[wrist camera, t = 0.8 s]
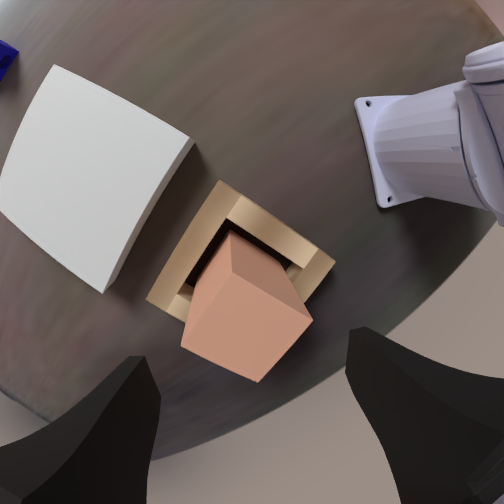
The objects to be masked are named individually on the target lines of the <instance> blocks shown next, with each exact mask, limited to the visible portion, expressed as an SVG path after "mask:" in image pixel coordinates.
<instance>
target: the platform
mask: <svg viewBox="0 0 504 504" xmlns="http://www.w3.org/2000/svg"><path fill="white" fill-rule="evenodd" d="M194 143H195V142H194V141H193V140H192V139H191V138H190V137H188V136H187V135H185V134H183V133H182V132H180V131H178V130H177V129H175V128H173V127H172V126H170V125H168V124H167V123H165V122H163V121H162V120H160V119H158V118H157V117H155V116H153V115H151V114H150V113H148V112H146V111H144V110H143V109H141V108H139V107H137V106H135V105H134V104H132V103H130V102H128V101H126V100H124V99H123V98H121V97H119V96H117V95H115V94H113V93H111V92H109V91H108V90H106V89H104V88H102V87H100V86H98V85H96V84H94V83H92V82H90V81H88V80H86V79H84V78H82V77H80V76H78V75H76V74H74V73H72V72H69V71H67V70H65V69H63V68H61V67H59V66H56V65H53V67H52V68H51V70H50V71H49V73H48V75H47V76H46V78H45V80H44V81H43V83H42V85H41V86H40V88H39V90H38V91H37V93H36V95H35V97H34V99H33V101H32V103H31V104H30V106H29V108H28V110H27V112H26V114H25V116H24V118H23V121H22V123H21V125H20V127H19V129H18V132H17V134H16V136H15V139H14V141H13V143H12V146H11V148H10V151H9V154H8V156H7V159H6V162H5V165H4V167H3V170H2V173H1V177H0V211H1V212H2V213H3V214H4V215H5V216H6V217H7V218H8V219H9V220H10V221H11V222H13V223H14V224H15V225H16V226H17V227H18V228H19V229H20V230H21V231H22V232H24V233H25V234H26V235H27V236H28V237H29V238H30V239H32V240H33V241H34V242H35V243H36V244H37V245H39V246H40V247H41V248H42V249H43V250H45V251H46V252H47V253H48V254H49V255H51V256H52V257H53V258H54V259H56V260H57V261H58V262H60V263H61V264H62V265H63V266H65V267H66V268H67V269H69V270H70V271H71V272H73V273H74V274H75V275H77V276H78V277H79V278H81V279H82V280H84V281H85V282H86V283H88V284H89V285H91V286H92V287H93V288H95V289H96V290H98V291H99V292H101V293H102V294H103V293H104V292H105V290H106V289H107V288H108V287H109V286H110V285H111V284H112V283H113V282H114V281H115V280H116V278H117V276H118V274H119V272H120V270H121V268H122V266H123V263H124V261H125V259H126V257H127V255H128V254H129V252H130V250H131V248H132V246H133V244H134V242H135V240H136V238H137V236H138V234H139V233H140V231H141V229H142V227H143V225H144V224H145V222H146V220H147V218H148V216H149V215H150V213H151V211H152V209H153V208H154V206H155V204H156V203H157V201H158V199H159V197H160V196H161V194H162V193H163V191H164V189H165V188H166V186H167V184H168V183H169V181H170V180H171V178H172V176H173V175H174V173H175V172H176V170H177V169H178V167H179V165H180V164H181V162H182V161H183V159H184V158H185V156H186V155H187V153H188V152H189V150H190V149H191V147H192V146H193V145H194Z"/></svg>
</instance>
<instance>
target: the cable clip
mask: <svg viewBox="0 0 504 504" xmlns="http://www.w3.org/2000/svg"><path fill="white" fill-rule="evenodd" d="M18 52H19V51H17V50H16V49H14V48H13V47H11V46H10V45H8V44H7V43H5V42H4V41H1V40H0V81H1V79H2V77H3V76H4V74H5V72H6V71H7V69H8V67H9V66H10V64H11V63H12V61H13V60H14V58H15V57H16V55H17V54H18Z"/></svg>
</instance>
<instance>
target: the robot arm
mask: <svg viewBox="0 0 504 504" xmlns="http://www.w3.org/2000/svg"><path fill="white" fill-rule="evenodd" d="M462 72H463V74H464V76H465V78H466V80H465V81H461V82H457V83H453V84H449V85H446V86H442V87H438V88H435V89H432V90H428V91H425V92H422V93H418V94H415V95H408V96H378V97H363V98H358V99H356V100H355V103H354V104H355V109H356V112H357V115H358V119H359V123H360V126H361V130H362V134H363V138H364V142H365V146H366V150H367V154H368V159H369V163H370V168H371V173H372V178H373V183H374V189H375V194H376V200H377V204H378V206H379V207H382V208H387V207H390V206H394V205H398V204H401V203H405V202H408V201H412V200H416V199H419V198H423V197H431V198H436V199H441V200H446V201H450V202H455V203H459V204H464V205H468V206H472V207H476V208H480V209H484V210H488V211H492V212H493V213H494V214H495V215H496V217H497V220H498V224H499V226H503V227H504V41H503V42H500V43H496V44H493V45H490V46H487V47H485V48H482V49H479V50H477V51H475V52H472V53H470V54H468V55H467V56H466V59H465V66H464V67H463V68H462ZM366 102H368V103H369V107H368V106H366ZM389 196H390V202H388V201H387V199H388V197H389ZM345 373H346V376H347V379H348V382H349V384H350V386H351V389H352V391H353V394H354V396H355V398H356V400H357V401H358V403H359V405H360V407H361V409H362V410H363V412H364V414H365V416H366V417H367V419H368V421H369V423H370V424H371V426H372V428H373V430H374V431H375V433H376V435H377V437H378V439H379V441H380V443H381V445H382V447H383V449H384V452H385V454H386V457H387V460H388V462H389V465H390V468H391V471H392V474H393V477H394V480H395V483H396V486H397V490H398V493H399V497H400V500H401V504H504V379H502V378H495V377H488V376H483V375H478V374H472V373H469V372H465V371H462V370H458V369H455V368H452V367H449V366H446V365H443V364H441V363H438V362H436V361H433V360H431V359H428V358H426V357H424V356H422V355H420V354H418V353H416V352H413V351H411V350H409V349H407V348H405V347H404V346H402V345H400V344H398V343H396V342H394V341H392V340H390V339H388V338H387V337H385V336H383V335H381V334H379V333H377V332H375V331H373V330H371V329H369V328H367V327H361V328H357V329H352V330H350V333H349V344H348V353H347V362H346V370H345ZM160 402H161V395H160V393H159V391H158V388H157V386H156V384H155V381H154V379H153V376H152V374H151V371H150V369H149V366H148V364H147V361H146V358H145V356H129V357H128V358H127V359H125V360H124V361H123V362H122V363H121V364H120V365H119V366H118V367H117V368H116V369H115V370H114V371H113V372H112V373H110V374H109V375H108V376H107V377H106V378H105V379H104V380H103V381H102V382H101V383H100V384H99V385H98V386H97V387H96V388H95V389H94V390H92V391H91V392H90V393H89V394H88V395H87V396H86V397H84V398H83V399H82V400H81V401H80V402H79V403H77V404H76V405H75V406H74V407H73V408H71V409H70V410H69V411H67V412H66V413H65V414H63V415H62V416H61V417H59V418H58V419H56V420H55V421H53V422H52V423H50V424H49V425H47V426H45V427H43V428H42V429H40V430H38V431H36V432H34V433H33V434H31V435H29V436H27V437H25V438H22V439H20V440H18V441H15V442H13V443H10V444H7V445H4V446H1V447H0V504H146V496H147V477H148V469H149V464H150V459H151V454H152V450H153V445H154V440H155V436H156V431H157V427H158V422H159V414H160Z"/></svg>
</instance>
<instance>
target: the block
mask: <svg viewBox="0 0 504 504" xmlns="http://www.w3.org/2000/svg"><path fill="white" fill-rule="evenodd" d="M312 321H313V319H312V317H311V316H310V314H309V312H308V310H307V309H306V307H305V305H304V303H303V302H302V300H301V298H300V296H299V295H298V293H297V291H296V289H295V288H294V286H293V284H292V283H291V281H290V279H289V277H288V276H287V274H286V272H285V271H284V269H283V267H282V265H281V264H280V262H279V261H278V260H276V259H275V258H273V257H272V256H270V255H269V254H267V253H266V252H264V251H263V250H261V249H260V248H258V247H257V246H255V245H253V244H252V243H250V242H249V241H247V240H246V239H244V238H243V237H241V236H240V235H238V234H237V233H235V232H234V231H232V230H230V229H229V231H228V232H227V234H226V235H225V237H224V238H223V240H222V241H221V243H220V244H219V246H218V247H217V249H216V250H215V252H214V253H213V255H212V256H211V258H210V259H209V261H208V262H207V264H206V265H205V267H204V268H203V270H202V271H201V273H200V274H199V276H198V278H197V281H196V285H195V289H194V293H193V297H192V301H191V305H190V309H189V313H188V317H187V321H186V325H185V329H184V333H183V338H182V342H181V346H182V347H184V348H186V349H188V350H190V351H192V352H193V353H195V354H197V355H199V356H201V357H203V358H205V359H207V360H209V361H212V362H214V363H216V364H218V365H220V366H222V367H224V368H226V369H228V370H231V371H233V372H235V373H237V374H240V375H242V376H244V377H246V378H249V379H251V380H253V381H256V382H259V381H260V380H261V379H262V378H263V376H264V375H265V374H266V373H267V372H268V371H269V370H270V369H271V368H272V367H273V366H274V365H275V364H276V362H277V361H278V360H279V359H280V358H281V357H282V356H283V355H284V354H285V353H286V351H287V350H288V349H289V348H290V347H291V346H292V345H293V343H294V342H295V341H296V340H297V339H298V338H299V336H300V335H301V334H302V333H303V332H304V331H305V329H306V328H307V327H308V326H309V325H310V323H311V322H312Z"/></svg>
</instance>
